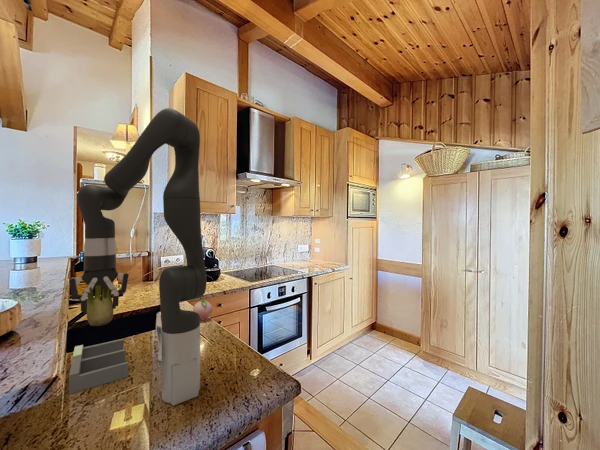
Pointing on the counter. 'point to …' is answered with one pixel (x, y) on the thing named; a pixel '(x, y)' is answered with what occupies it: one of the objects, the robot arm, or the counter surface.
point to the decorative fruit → (203, 309)
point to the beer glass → (159, 335)
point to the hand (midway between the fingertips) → (100, 310)
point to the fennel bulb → (99, 306)
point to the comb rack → (97, 365)
